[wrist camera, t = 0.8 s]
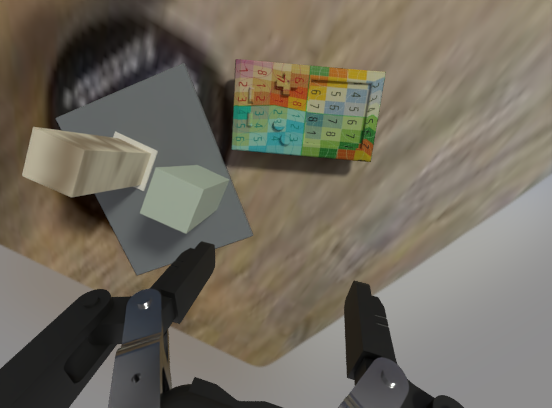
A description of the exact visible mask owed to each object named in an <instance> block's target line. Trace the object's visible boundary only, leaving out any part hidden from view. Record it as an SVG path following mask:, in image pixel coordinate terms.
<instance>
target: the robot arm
mask: <svg viewBox="0 0 552 408" xmlns="http://www.w3.org/2000/svg"><path fill="white" fill-rule="evenodd" d="M214 268H215V245H214V244H211V243H207V242H203V241H201V242H200V243H199V244H198V245H197V246H196V247H195V249H194V248H189V249H187V250H186V251H184V252H182V253H181V254H180V255H179V256H178V258H177V259H176V261H174V262H173V263H172V264H171V266H169V268H168V269H167V270H166V271H165V272H164V273H163V274H162V275H161V277H160V278H159V279H158V280H157V281H156V282H155V283H154V284H153V285H152V287H151V288H149V289H145V290H141V291H139V292H137V293H136V294H134V295H133V296H131V297H111V295H110V293H109V292H108V291H107V290H104V289H97V290H92V291H90V292H87V293H85V294H84V295H82V296H80V297H79V298H78V299H77V300H76V301H75V302H74V303H73V304H71V305H70V306H69V307H68V308H67V309H66V310H65V311H64V312H63V313H62V314H60V315H59V316H58V317H57V318H56V319H55V320H54V321H53V322H51V323H50V324H49V325H48V326H47V327H46V328H45V329H44V330H43V331H42V332H40V333H39V334H38V335H37V336H36V337H35V338H34V339H33V340H32V341H31V342H30V343H28V344H27V345H26V346H25V347H24V348H23V349H22V350H21V351H20V352H18V353H17V354H16V355H15V356H14V357H13V358H12V359H11V360H10V361H9V362H8V363H6V364H5V365H4V366H3V367H2V368H1V369H0V408H69V407H70V405H71V404H72V403H73V401H74V400H75V399H76V398H77V396H78V395H79V394H80V392H81V391H82V390H83V388H84V387H85V386H86V384H87V383H88V382H89V380H90V379H91V378H92V377H93V375H94V374H95V372H96V371H97V370H98V368H99V367H100V366H101V365H102V363H103V362H104V361H105V360H106V358H107V357H108V356H109V354H110V353H111V352H112V350H113V349H114V348H115V346H116V345H117V344H122V346H121V348H120V349H118V350H117V352H116V356H115V362H114V369H113V376H112V383H111V390H110V397H109V405H108V408H282V407H279V406H276V405H274V404H271V403H268V402H265V401H260V402H259V401H255V402H254V401H237V400H236V399H235V398H233V397H232V396H231V395H229V394H228V393H227V392H226V391H224V390H223V389H222V388H220V387H219V386H218V385H216V384H213V383H211V382H208V381H205V380H202V379H199V378H196V377H195V378H194V380H193V382H192V384H187V385H181V386H178V387H175V388H172V383H171V373H170V361H169V360H170V358H169V336H168V335H169V333H168V328H169V327H170V325H171V324H172V322H175V323H178V324H180V323H181V321H182V320H183V318H184V317H185V315H186V313H187V312H188V310H189V309H190V307H191V306H192V304H193V303H194V301H195V299H196V298H197V296H198V295H199V293H200V292H201V290H202V288H203V287H204V285H205V284H206V282H207V281H208V279H209V278H210V276H211V274H212V273H213V270H214ZM344 318H345V339H346V362H347V363H346V365H347V378H350V379H353V380H355V387H354V388H353V390H352V391H351V392H350V393H349V395H348V396H347V397H346V398H345V399H344V401H343V402H342V403H341V404H340V406H339V407H338V408H464V407H463V406H462V405H461V404H460V403H458V402H457V401H455V400H454V399H452V398H450V397H448V396H445V395H440V396H437V397H436V398H434V397H432V396H431V395H429V394H427V393H426V392H424V391H423V390H421V389H420V388H418V387H416V386H415V385H414V384H412V383H411V382H410V381H409V380H408V379H407V377H406V376H405V374H404V372H403V371H402V369H401V368H400V367H399V366H398V365H397V362H396V358H395V354H394V349H393V345H392V340H391V336H390V331H389V328H388V322H387V319H386V313H385V309H384V306H383V305H382V303H381V301H380V300H379V298H378V297H375V296H371V290H370V285H369V284H366V283H362V282H358V281H353V283H352V286H351V288H350V290H349V293H348V295H347V297H346V300H345V305H344Z"/></svg>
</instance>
